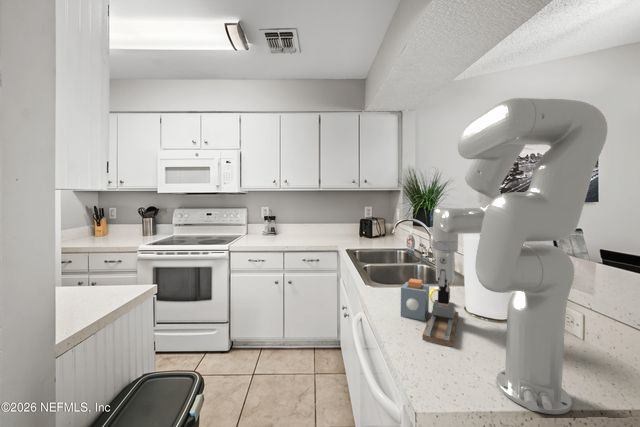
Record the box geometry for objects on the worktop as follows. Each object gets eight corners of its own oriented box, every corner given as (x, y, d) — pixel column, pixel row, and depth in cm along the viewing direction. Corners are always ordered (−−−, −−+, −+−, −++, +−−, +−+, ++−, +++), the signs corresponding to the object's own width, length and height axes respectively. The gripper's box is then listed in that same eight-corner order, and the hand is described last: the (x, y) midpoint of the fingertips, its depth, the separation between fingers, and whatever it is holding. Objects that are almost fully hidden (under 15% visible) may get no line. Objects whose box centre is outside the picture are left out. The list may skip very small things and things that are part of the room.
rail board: (452, 346, 78) (453, 337, 78) (422, 339, 82) (422, 330, 82) (458, 316, 98) (458, 308, 98) (433, 311, 102) (433, 304, 102)
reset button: (420, 291, 97) (420, 283, 96) (408, 289, 98) (408, 281, 98) (422, 288, 100) (422, 280, 100) (410, 286, 102) (410, 278, 102)
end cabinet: (424, 321, 94) (425, 291, 93) (400, 316, 98) (400, 288, 97) (428, 312, 101) (429, 284, 101) (405, 308, 105) (406, 281, 105)
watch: (431, 304, 109) (430, 289, 109) (428, 302, 112) (427, 287, 112) (446, 303, 109) (446, 288, 109) (443, 301, 112) (443, 286, 112)
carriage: (452, 318, 89) (453, 287, 89) (432, 314, 92) (433, 284, 92) (454, 311, 94) (455, 282, 94) (435, 308, 97) (435, 279, 97)
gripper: (456, 251, 83) (454, 312, 84) (459, 243, 97) (458, 295, 98) (429, 249, 87) (427, 307, 88) (436, 241, 101) (434, 292, 102)
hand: (443, 300), depth 93 cm, fingers closed on carriage, 3 cm apart
